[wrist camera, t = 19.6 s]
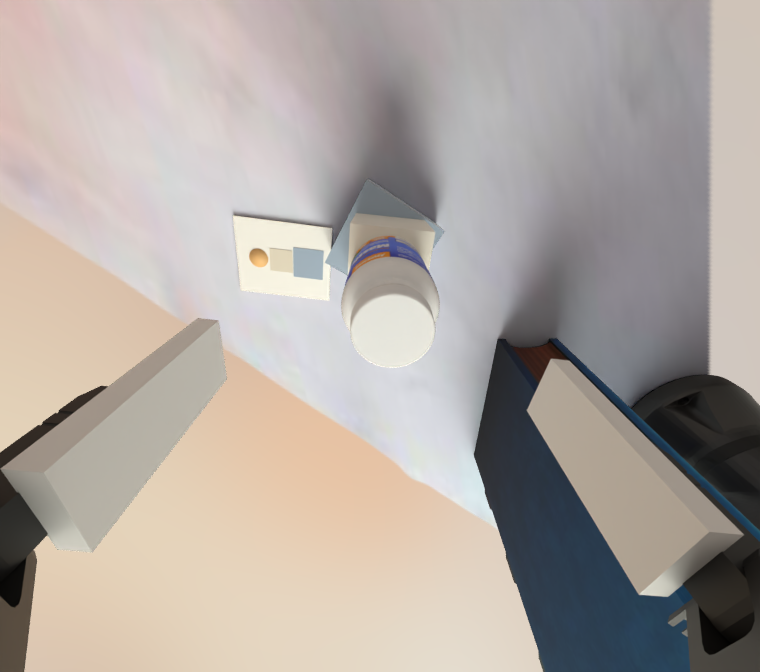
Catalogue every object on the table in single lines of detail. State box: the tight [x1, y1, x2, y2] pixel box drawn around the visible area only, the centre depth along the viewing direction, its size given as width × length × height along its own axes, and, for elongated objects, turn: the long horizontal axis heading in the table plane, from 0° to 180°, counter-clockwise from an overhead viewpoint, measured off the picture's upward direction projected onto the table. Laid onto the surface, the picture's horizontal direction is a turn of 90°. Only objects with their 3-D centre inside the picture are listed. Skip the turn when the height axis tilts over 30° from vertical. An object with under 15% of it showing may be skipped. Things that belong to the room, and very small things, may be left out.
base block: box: [325, 179, 444, 275], centre depth 30 cm, size 8×8×5 cm
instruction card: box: [233, 215, 333, 301], centre depth 32 cm, size 10×8×1 cm
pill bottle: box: [341, 235, 440, 368], centre depth 18 cm, size 5×5×10 cm
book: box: [474, 339, 760, 672], centre depth 30 cm, size 24×9×30 cm, turn 1°
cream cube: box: [348, 213, 435, 274], centre depth 25 cm, size 6×6×6 cm
